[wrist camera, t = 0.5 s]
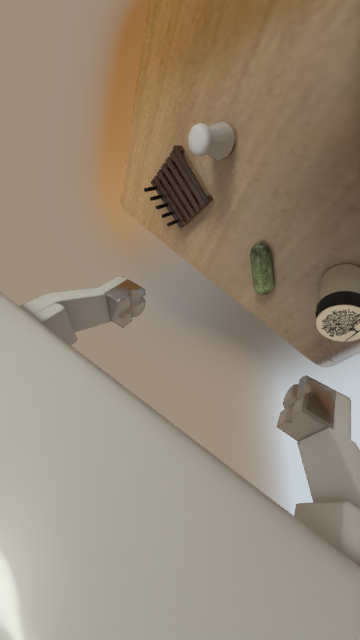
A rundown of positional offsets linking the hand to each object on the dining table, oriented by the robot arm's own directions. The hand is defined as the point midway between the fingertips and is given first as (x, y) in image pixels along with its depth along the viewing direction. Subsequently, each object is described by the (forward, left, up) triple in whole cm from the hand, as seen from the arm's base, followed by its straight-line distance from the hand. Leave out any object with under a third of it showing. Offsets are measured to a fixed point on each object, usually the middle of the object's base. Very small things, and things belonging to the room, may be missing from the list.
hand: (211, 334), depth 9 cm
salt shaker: (-5, -21, -48) cm, 52 cm away
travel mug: (+14, +14, -48) cm, 52 cm away
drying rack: (+5, -30, -48) cm, 56 cm away
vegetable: (+17, -3, -48) cm, 51 cm away
